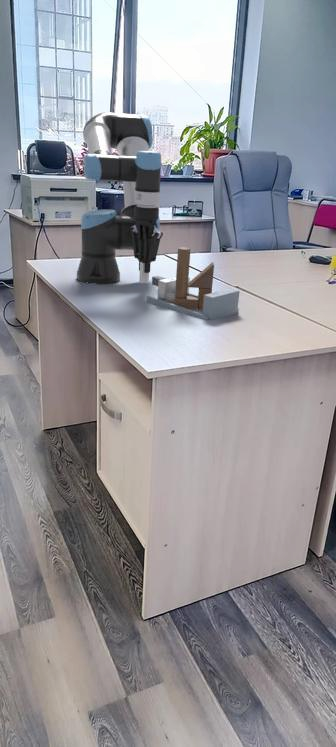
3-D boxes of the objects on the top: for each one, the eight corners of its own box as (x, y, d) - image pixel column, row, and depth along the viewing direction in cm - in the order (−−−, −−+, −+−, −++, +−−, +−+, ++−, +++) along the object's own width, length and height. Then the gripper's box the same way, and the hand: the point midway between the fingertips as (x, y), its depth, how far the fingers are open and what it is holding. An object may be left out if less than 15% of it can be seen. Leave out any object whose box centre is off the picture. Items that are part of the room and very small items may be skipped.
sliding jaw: (141, 297, 167) (142, 275, 165) (166, 292, 174) (167, 270, 172) (164, 305, 161) (165, 282, 158) (188, 299, 168) (190, 277, 165)
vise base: (146, 302, 164) (147, 278, 161) (178, 295, 173) (179, 272, 170) (207, 324, 148) (209, 298, 145) (238, 315, 158) (241, 290, 154)
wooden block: (210, 312, 159) (215, 251, 151) (173, 310, 158) (177, 249, 151) (208, 308, 162) (214, 248, 154) (173, 306, 162) (177, 246, 154)
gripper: (123, 203, 165) (121, 279, 174) (152, 209, 156) (149, 288, 166) (141, 202, 170) (139, 276, 179) (170, 208, 161) (166, 284, 171)
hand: (143, 282), depth 173 cm, fingers closed
